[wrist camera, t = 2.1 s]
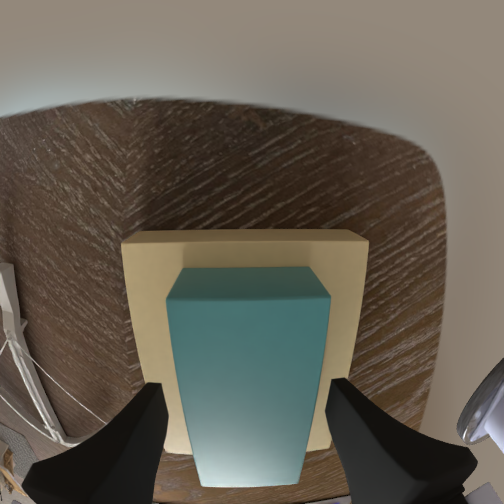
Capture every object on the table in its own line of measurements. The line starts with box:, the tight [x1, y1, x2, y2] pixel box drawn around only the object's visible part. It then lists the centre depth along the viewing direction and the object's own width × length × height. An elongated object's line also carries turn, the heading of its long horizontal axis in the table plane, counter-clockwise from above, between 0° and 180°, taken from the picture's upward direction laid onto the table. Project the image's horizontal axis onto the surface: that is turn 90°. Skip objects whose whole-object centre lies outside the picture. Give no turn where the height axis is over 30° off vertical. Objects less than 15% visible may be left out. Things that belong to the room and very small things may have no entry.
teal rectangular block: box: [165, 267, 331, 487], centre depth 11 cm, size 5×11×3 cm, turn 0°
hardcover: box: [121, 229, 369, 455], centre depth 14 cm, size 10×13×2 cm
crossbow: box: [0, 262, 112, 447], centre depth 15 cm, size 16×13×2 cm
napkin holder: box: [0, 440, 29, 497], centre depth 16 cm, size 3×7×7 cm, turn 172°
